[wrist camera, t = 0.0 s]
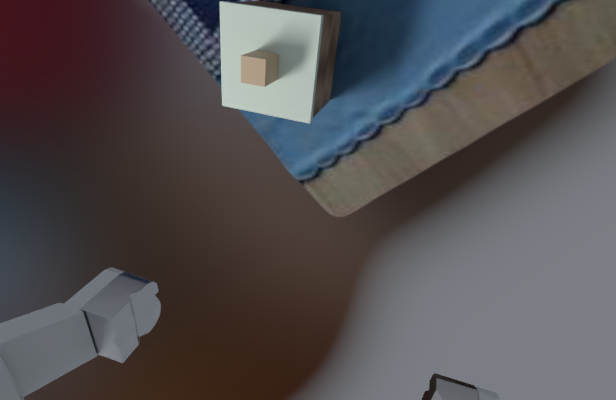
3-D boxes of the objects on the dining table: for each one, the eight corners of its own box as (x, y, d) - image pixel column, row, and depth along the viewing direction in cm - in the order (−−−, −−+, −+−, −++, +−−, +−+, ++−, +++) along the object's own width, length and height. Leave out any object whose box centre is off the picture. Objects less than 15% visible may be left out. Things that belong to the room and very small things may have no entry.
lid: (223, 1, 44) (201, 2, 40) (323, 15, 41) (310, 18, 37) (225, 103, 50) (206, 114, 46) (312, 121, 48) (300, 133, 44)
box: (259, 0, 52) (225, 3, 44) (341, 11, 50) (321, 16, 41) (257, 86, 58) (227, 102, 50) (330, 99, 56) (311, 119, 48)
